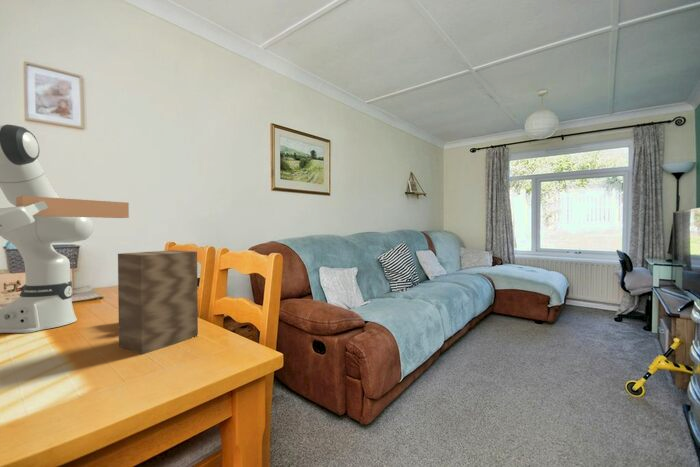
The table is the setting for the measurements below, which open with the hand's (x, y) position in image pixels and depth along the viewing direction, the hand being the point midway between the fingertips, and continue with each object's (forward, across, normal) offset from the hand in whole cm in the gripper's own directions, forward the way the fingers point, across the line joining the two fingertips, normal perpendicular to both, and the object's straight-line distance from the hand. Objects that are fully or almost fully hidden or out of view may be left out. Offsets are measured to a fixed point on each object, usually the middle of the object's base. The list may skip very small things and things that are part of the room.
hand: (40, 204), depth 70 cm
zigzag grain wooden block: (+3, 0, +46) cm, 46 cm away
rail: (+5, 0, +6) cm, 7 cm away
